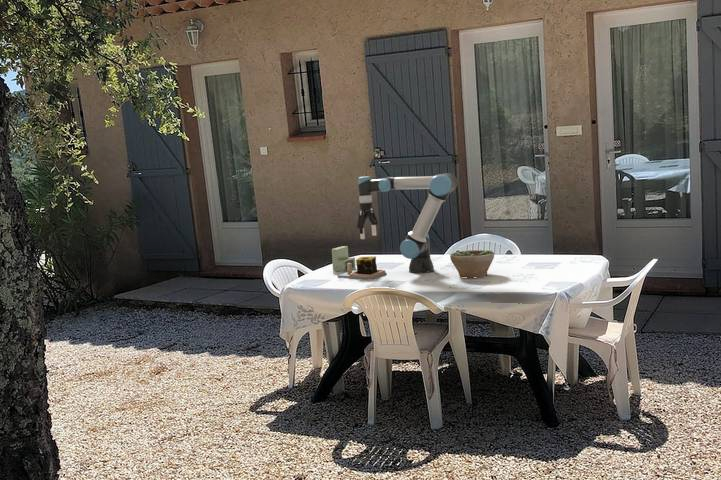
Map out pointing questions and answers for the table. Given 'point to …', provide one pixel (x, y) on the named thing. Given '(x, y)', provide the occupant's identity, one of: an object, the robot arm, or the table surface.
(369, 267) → the candle
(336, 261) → the feeder
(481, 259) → the planter
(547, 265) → the table surface
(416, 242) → the robot arm
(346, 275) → the pin board
